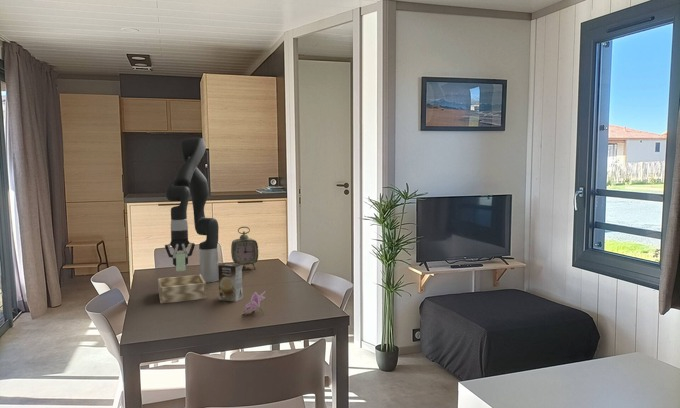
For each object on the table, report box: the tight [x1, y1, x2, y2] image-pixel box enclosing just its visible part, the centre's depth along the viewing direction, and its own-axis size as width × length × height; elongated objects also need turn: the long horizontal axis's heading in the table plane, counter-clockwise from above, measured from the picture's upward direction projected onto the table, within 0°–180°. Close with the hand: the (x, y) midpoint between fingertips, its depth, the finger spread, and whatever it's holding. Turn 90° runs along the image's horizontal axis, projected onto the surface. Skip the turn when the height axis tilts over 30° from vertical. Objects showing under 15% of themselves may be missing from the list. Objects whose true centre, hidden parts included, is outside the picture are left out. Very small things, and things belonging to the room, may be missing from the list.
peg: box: [175, 251, 187, 272], centre depth 237 cm, size 4×4×8 cm
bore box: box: [157, 274, 208, 304], centre depth 238 cm, size 20×20×7 cm
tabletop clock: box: [230, 226, 259, 270], centre depth 295 cm, size 14×9×25 cm, turn 111°
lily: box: [242, 290, 266, 315], centre depth 208 cm, size 12×12×10 cm
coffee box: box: [218, 262, 243, 302], centre depth 230 cm, size 9×6×16 cm
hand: (180, 265), depth 237 cm, fingers closed on peg, 4 cm apart
